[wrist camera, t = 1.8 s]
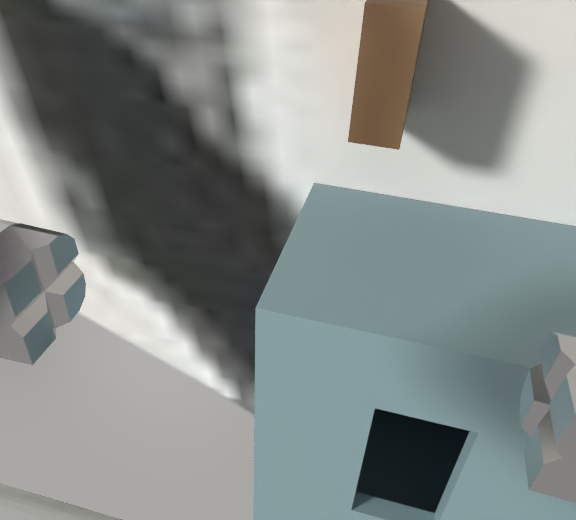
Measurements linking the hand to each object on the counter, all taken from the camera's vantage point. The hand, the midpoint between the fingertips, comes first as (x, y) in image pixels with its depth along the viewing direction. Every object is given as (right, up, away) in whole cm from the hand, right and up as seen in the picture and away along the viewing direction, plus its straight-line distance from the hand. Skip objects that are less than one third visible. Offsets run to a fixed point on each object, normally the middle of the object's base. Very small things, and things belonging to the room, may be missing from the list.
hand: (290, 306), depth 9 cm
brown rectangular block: (+5, +10, +13) cm, 17 cm away
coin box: (+11, -3, +21) cm, 24 cm away
